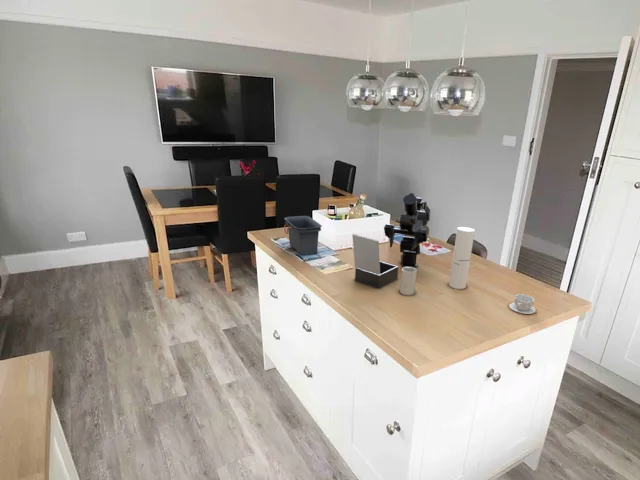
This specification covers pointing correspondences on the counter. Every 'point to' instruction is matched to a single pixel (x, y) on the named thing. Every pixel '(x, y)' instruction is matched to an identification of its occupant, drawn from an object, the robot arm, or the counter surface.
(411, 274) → the white cup
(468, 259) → the cylindrical container
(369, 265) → the grey flat rectangular panel
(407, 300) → the counter surface
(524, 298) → the teacup
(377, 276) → the dark grey open box
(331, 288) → the counter surface
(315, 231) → the storage bin
